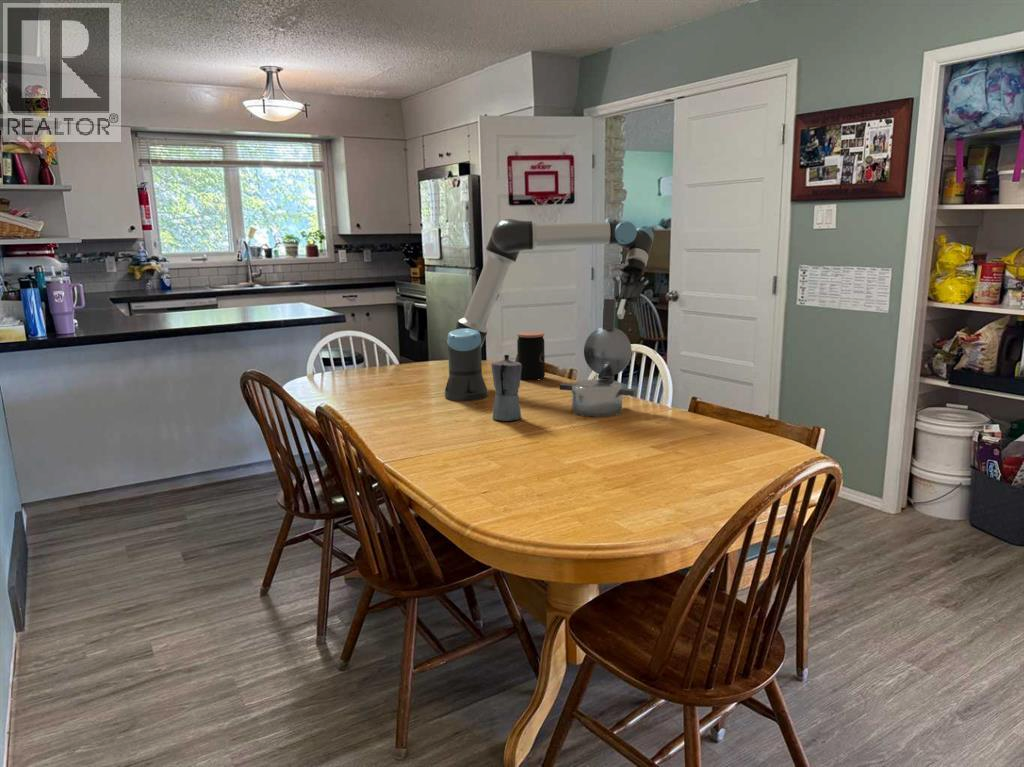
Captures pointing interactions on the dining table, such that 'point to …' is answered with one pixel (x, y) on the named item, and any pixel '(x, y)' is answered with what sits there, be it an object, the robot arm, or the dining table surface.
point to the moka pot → (506, 389)
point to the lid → (607, 346)
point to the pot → (597, 397)
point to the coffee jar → (531, 355)
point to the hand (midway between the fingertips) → (619, 316)
